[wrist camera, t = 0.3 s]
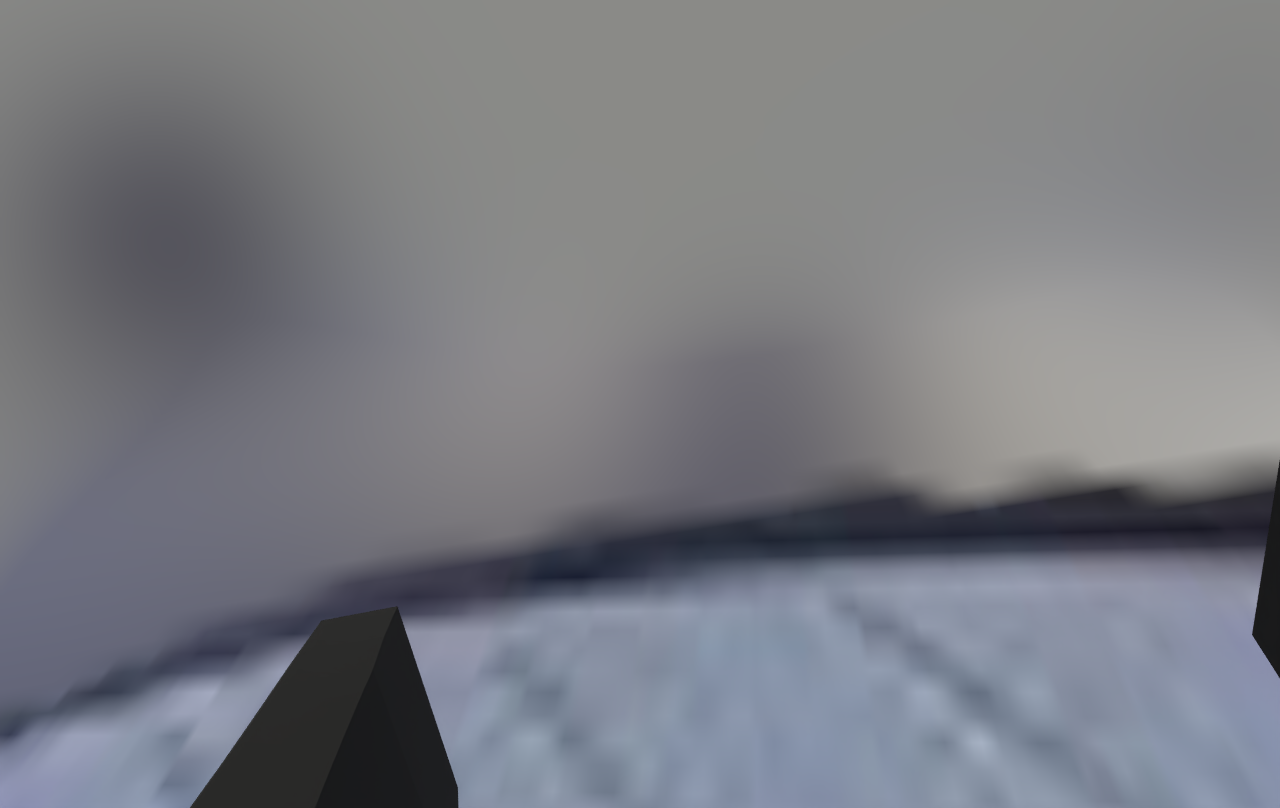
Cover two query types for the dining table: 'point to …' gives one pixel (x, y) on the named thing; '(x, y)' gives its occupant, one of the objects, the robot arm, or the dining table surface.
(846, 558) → the dining table surface
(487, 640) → the dining table surface
